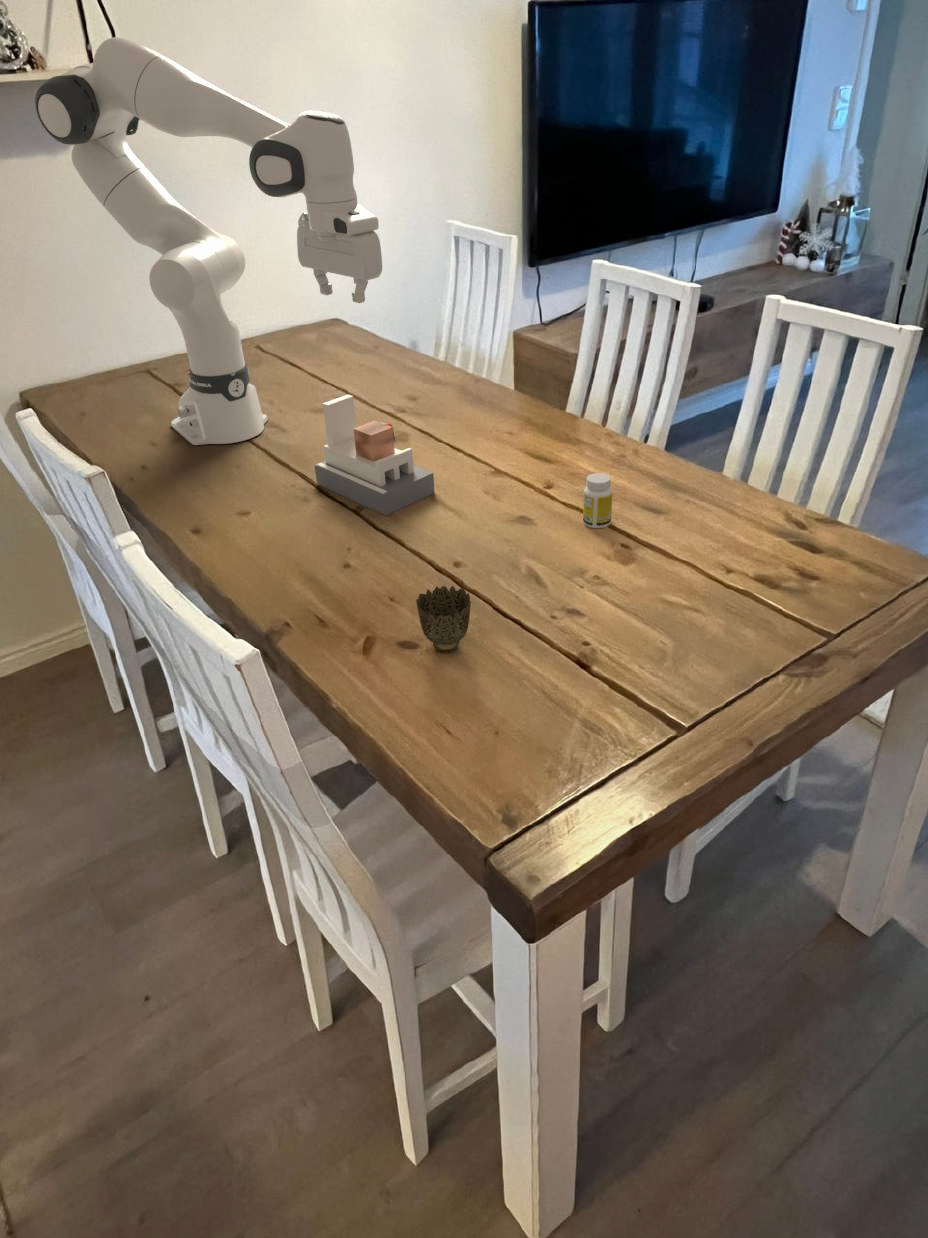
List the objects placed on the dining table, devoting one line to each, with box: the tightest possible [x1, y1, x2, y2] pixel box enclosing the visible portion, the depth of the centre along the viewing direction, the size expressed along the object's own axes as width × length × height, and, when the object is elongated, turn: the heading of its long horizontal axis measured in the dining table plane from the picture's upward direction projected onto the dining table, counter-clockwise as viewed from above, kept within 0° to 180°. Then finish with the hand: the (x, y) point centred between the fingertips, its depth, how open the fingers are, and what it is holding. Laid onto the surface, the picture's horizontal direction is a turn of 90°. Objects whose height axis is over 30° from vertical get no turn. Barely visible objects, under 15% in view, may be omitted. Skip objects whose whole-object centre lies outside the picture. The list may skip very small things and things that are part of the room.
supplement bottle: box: [582, 472, 613, 529], centre depth 153 cm, size 5×5×8 cm
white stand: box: [322, 394, 414, 487], centre depth 165 cm, size 16×8×11 cm, turn 45°
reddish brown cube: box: [353, 420, 395, 462], centre depth 164 cm, size 5×5×5 cm
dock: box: [314, 459, 435, 516], centre depth 169 cm, size 20×12×4 cm, turn 45°
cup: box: [415, 585, 472, 653], centre depth 124 cm, size 8×7×8 cm
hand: (342, 298), depth 166 cm, fingers open, 8 cm apart
